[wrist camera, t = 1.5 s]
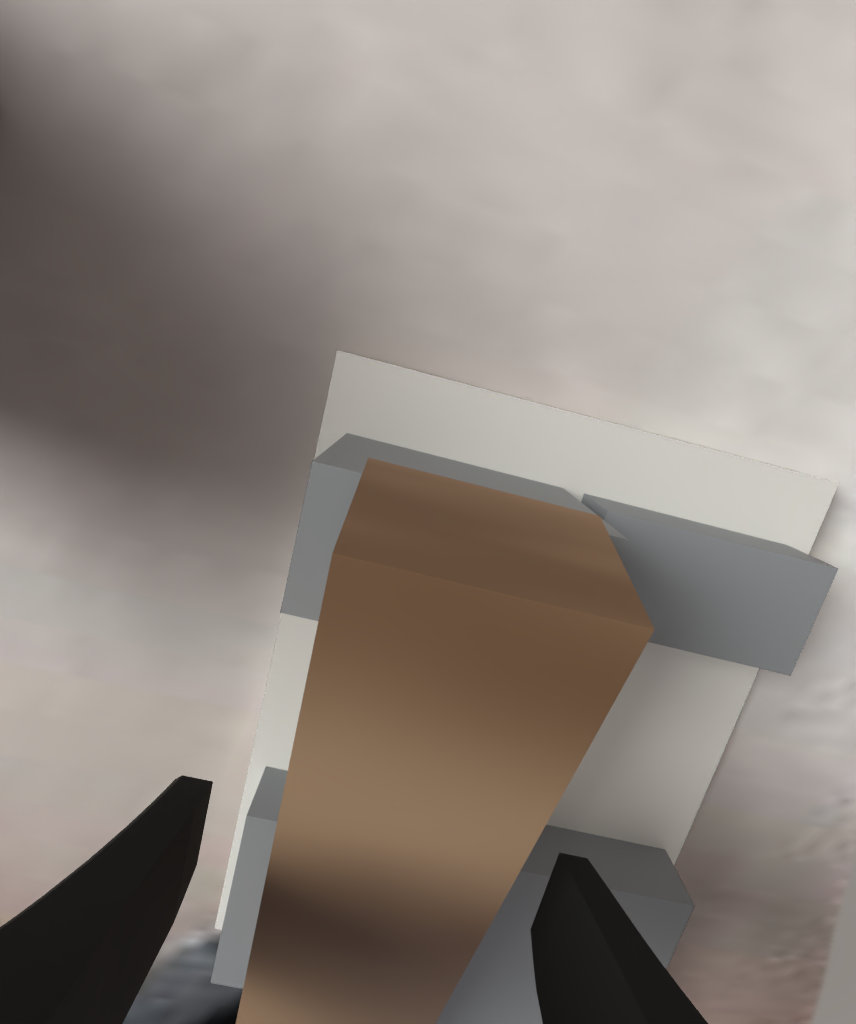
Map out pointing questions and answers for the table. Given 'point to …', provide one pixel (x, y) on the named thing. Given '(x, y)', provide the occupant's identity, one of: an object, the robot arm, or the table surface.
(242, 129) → the table surface
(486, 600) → the walnut bar
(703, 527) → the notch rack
